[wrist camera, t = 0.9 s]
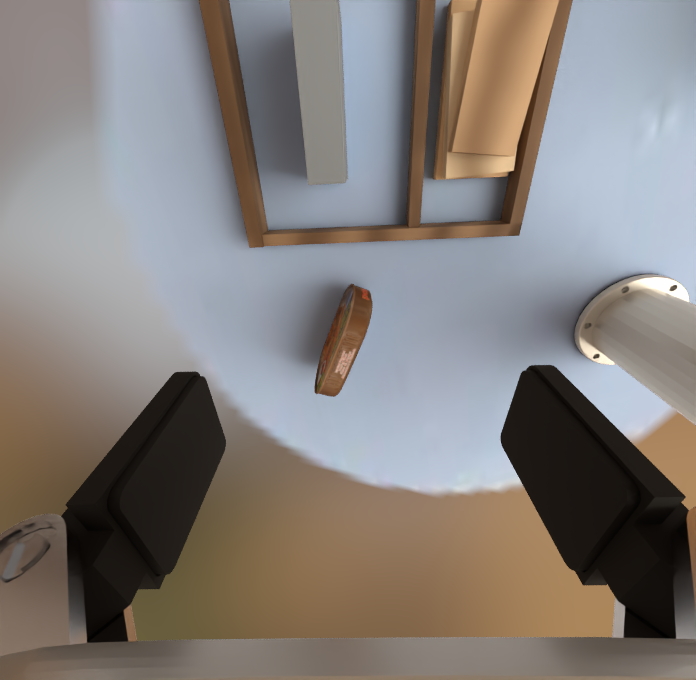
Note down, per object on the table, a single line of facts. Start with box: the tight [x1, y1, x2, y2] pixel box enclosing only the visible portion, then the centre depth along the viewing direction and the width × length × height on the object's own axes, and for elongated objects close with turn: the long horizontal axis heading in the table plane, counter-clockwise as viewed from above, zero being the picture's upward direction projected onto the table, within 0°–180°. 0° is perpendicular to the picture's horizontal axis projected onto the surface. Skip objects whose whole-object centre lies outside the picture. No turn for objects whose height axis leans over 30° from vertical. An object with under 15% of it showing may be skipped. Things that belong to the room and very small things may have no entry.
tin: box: [315, 284, 372, 397], centre depth 38 cm, size 15×3×8 cm, turn 160°
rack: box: [199, 0, 573, 248], centre depth 28 cm, size 29×24×3 cm
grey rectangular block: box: [290, 0, 348, 185], centre depth 26 cm, size 3×12×9 cm, turn 3°
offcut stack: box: [433, 0, 559, 180], centre depth 27 cm, size 7×13×5 cm, turn 2°
